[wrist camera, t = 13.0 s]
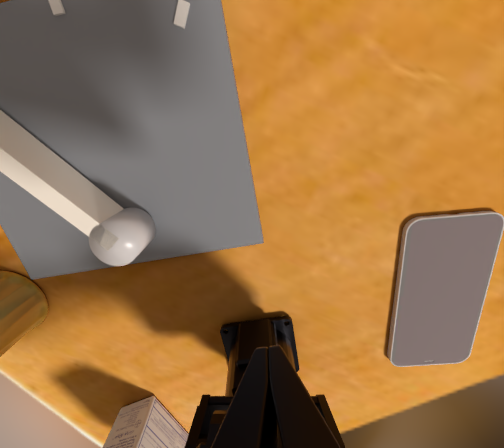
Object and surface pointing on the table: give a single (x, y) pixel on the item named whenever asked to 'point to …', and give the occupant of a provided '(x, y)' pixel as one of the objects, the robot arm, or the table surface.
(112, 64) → the dial plate
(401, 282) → the smartphone
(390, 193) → the table surface
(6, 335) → the vase
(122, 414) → the medicine box
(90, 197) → the lever
